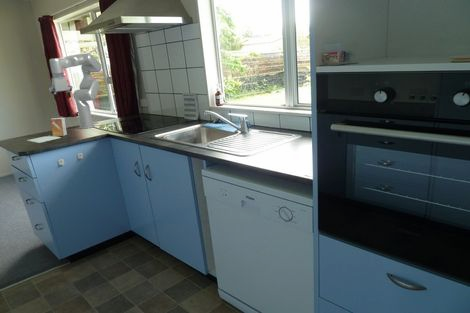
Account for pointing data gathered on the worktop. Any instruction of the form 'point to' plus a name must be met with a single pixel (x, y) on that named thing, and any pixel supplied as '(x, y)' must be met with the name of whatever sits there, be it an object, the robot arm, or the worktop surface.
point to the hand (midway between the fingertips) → (63, 98)
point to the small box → (58, 126)
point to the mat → (43, 139)
